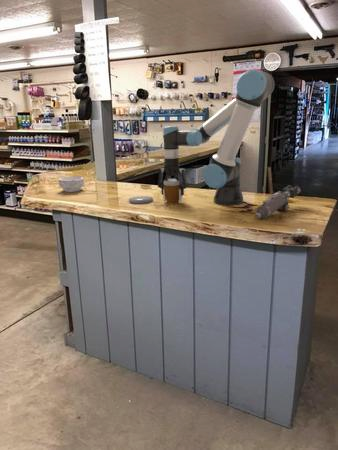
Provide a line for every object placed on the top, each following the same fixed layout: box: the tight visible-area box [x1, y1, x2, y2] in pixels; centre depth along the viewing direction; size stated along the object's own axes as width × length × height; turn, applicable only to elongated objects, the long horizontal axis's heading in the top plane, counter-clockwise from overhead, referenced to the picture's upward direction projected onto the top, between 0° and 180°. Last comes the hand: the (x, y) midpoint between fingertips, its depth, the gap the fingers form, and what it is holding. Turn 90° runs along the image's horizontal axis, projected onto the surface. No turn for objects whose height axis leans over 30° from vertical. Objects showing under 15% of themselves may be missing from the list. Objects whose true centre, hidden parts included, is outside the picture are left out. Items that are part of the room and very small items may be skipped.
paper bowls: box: [58, 176, 85, 193], centre depth 231 cm, size 15×15×8 cm
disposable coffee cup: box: [163, 178, 182, 205], centre depth 192 cm, size 10×10×12 cm
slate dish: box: [128, 195, 154, 205], centre depth 199 cm, size 13×13×1 cm
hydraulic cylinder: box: [254, 184, 301, 220], centre depth 170 cm, size 7×37×10 cm, turn 137°
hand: (172, 201), depth 194 cm, fingers closed on disposable coffee cup, 8 cm apart
